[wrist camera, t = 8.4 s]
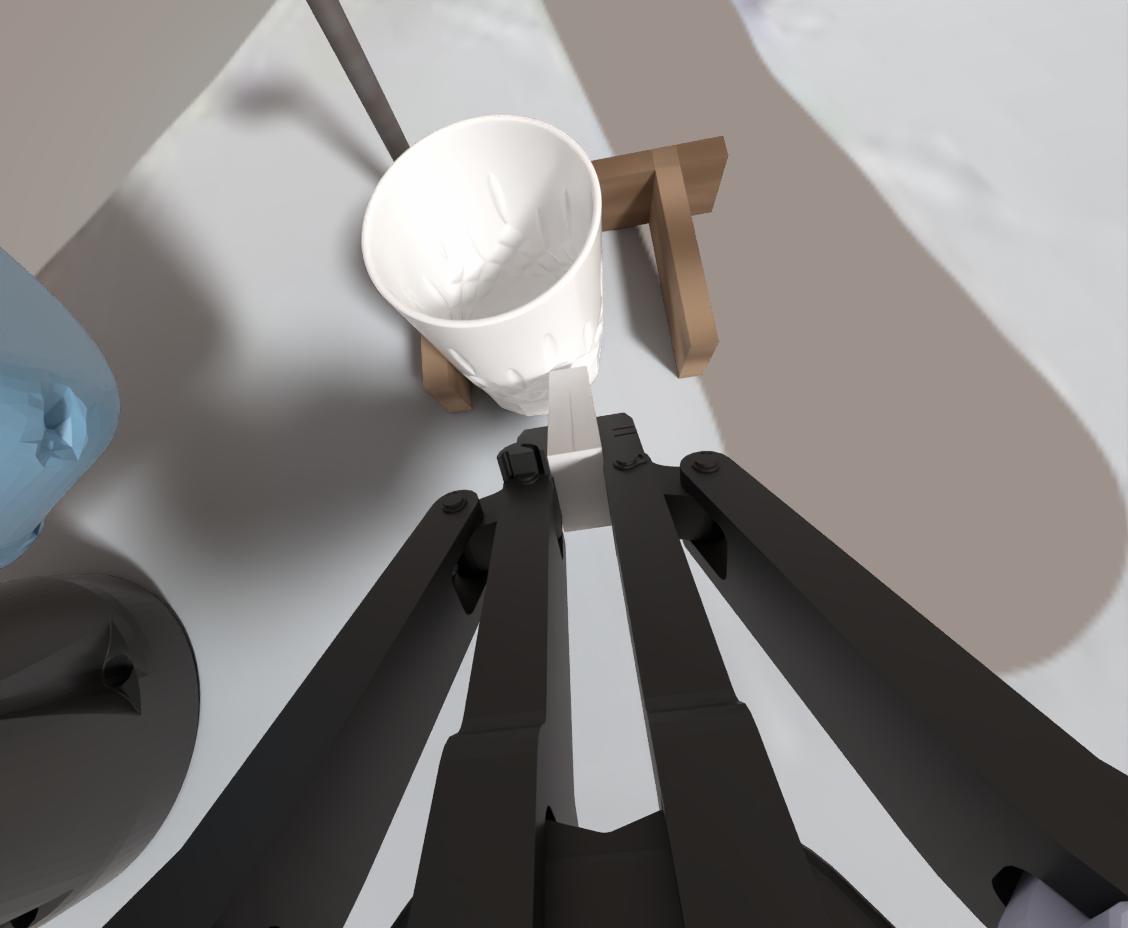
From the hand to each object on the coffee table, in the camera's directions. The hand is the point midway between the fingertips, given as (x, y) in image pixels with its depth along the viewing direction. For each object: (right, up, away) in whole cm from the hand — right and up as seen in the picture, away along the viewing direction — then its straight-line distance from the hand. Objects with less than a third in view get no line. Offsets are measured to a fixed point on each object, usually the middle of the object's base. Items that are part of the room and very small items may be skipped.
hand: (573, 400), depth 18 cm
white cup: (-2, +3, +6) cm, 7 cm away
